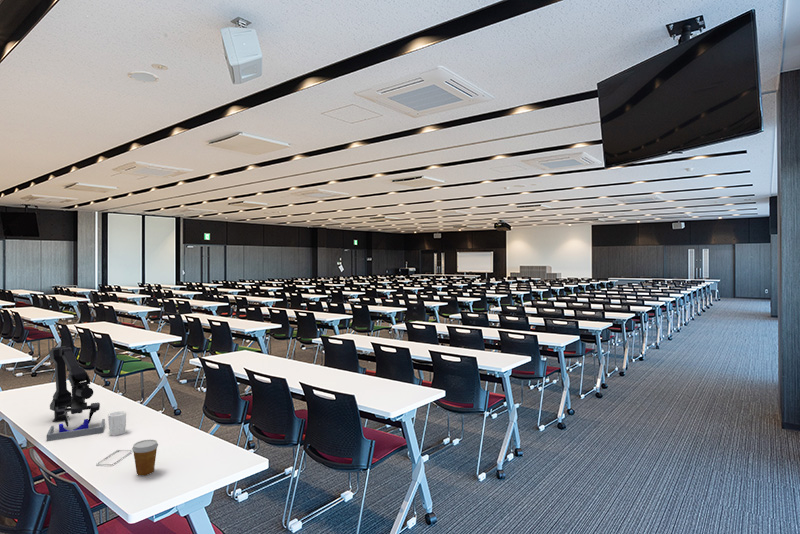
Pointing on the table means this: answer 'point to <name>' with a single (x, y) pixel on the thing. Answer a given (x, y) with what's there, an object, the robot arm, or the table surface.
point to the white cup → (117, 422)
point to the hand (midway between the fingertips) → (78, 425)
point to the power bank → (112, 454)
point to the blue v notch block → (83, 426)
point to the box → (74, 432)
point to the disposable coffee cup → (145, 456)
